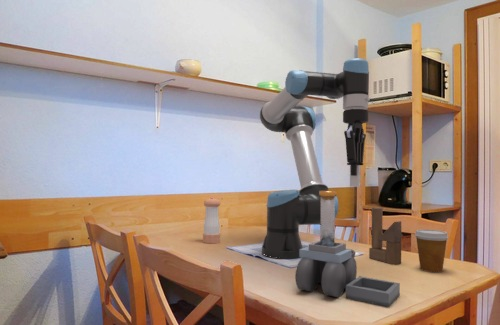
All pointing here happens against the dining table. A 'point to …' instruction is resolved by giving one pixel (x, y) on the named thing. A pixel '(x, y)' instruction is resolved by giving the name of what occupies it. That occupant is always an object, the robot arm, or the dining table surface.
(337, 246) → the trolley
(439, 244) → the disposable coffee cup
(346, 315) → the dining table surface
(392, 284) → the tray
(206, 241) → the salt shaker
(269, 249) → the robot arm
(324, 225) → the capped glass tube
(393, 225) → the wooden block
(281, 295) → the dining table surface
